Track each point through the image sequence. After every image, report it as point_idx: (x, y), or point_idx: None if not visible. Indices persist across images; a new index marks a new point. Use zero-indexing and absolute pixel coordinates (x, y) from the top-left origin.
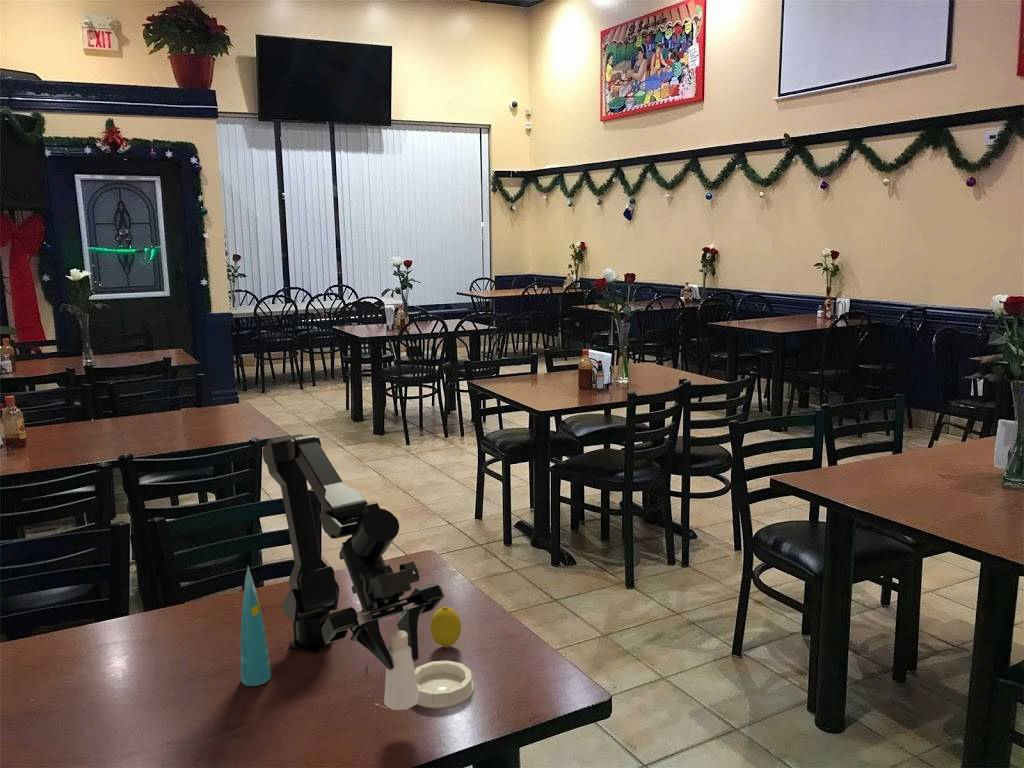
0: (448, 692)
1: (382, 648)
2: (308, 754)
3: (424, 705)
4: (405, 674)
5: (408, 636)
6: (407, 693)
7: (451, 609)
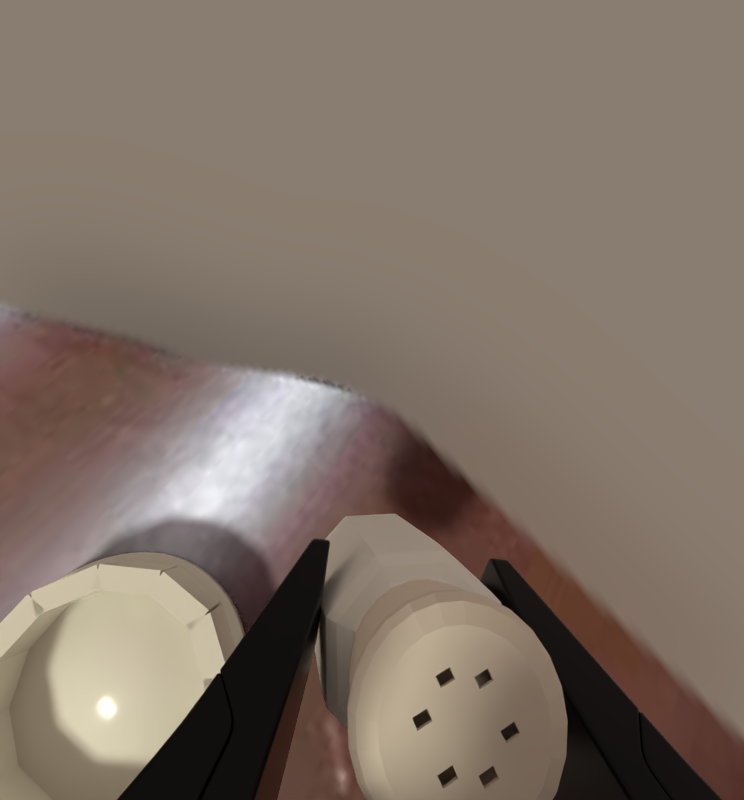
0: (163, 575)
1: (603, 693)
2: (627, 658)
3: (240, 625)
4: (408, 531)
5: (281, 744)
6: (392, 519)
7: None
